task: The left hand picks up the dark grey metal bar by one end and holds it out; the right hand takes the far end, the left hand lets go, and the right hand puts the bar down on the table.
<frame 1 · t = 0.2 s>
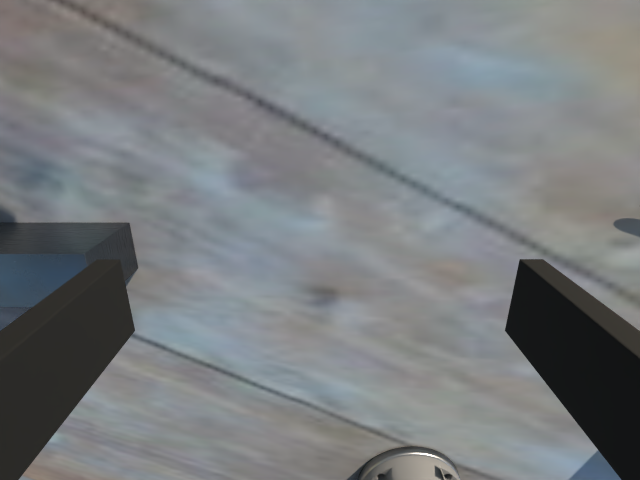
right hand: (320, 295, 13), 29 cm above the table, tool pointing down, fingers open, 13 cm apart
bar: (7, 245, 43), on the table
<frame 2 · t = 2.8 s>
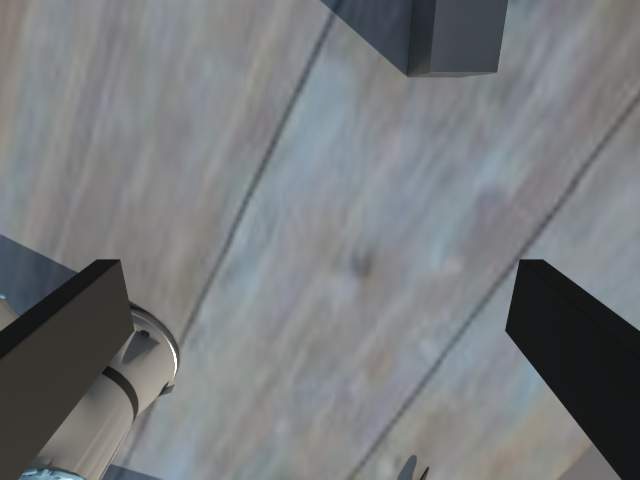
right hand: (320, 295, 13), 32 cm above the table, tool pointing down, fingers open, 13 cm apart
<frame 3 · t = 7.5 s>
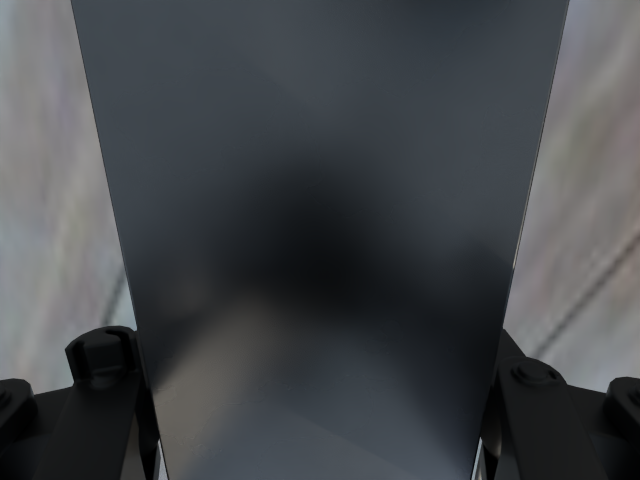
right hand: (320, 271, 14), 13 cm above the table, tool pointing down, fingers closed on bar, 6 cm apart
when the left hand's fingers open (13 cm above the table, at t = 8.2 s): bar stays where it is, held by the right hand.
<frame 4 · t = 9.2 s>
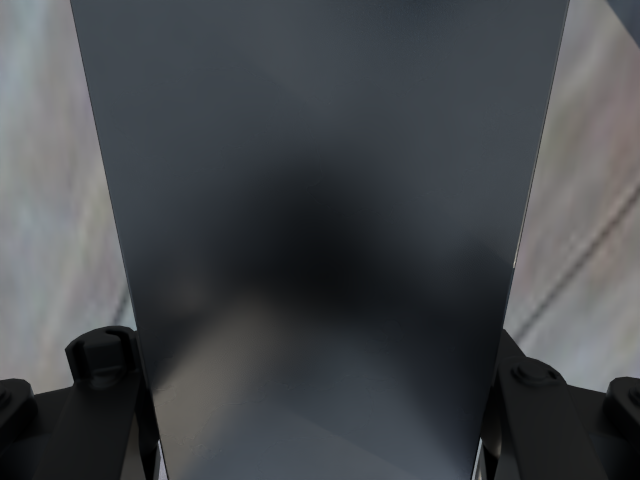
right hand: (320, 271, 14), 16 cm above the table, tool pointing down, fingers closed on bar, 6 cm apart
when the right hand's fingers open (2 cm above the table, at t = 13.4 s): bar drops 2 cm, on the table.
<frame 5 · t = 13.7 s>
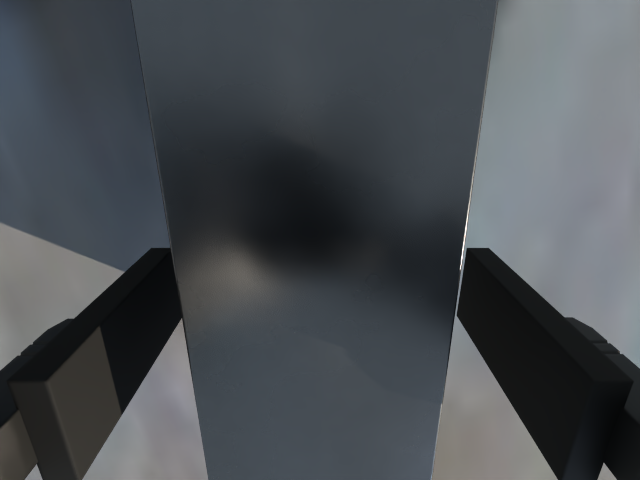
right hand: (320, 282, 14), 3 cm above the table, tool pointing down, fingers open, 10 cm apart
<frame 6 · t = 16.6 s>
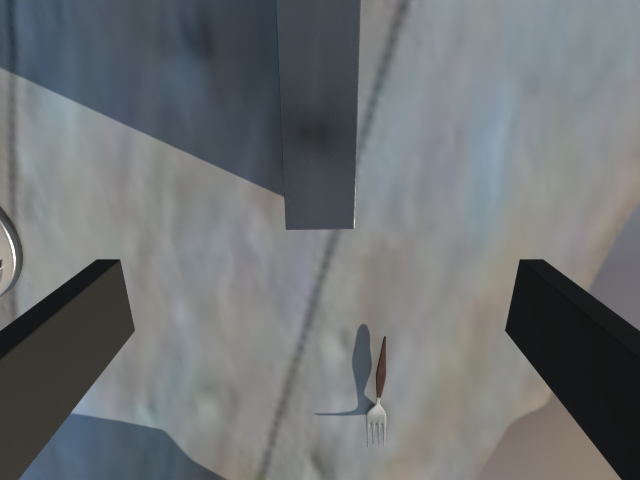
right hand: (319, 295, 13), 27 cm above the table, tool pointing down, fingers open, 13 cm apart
bar: (318, 44, 34), on the table
fork: (378, 386, 48), on the table
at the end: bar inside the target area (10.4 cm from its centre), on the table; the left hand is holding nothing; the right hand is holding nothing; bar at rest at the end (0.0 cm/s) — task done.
